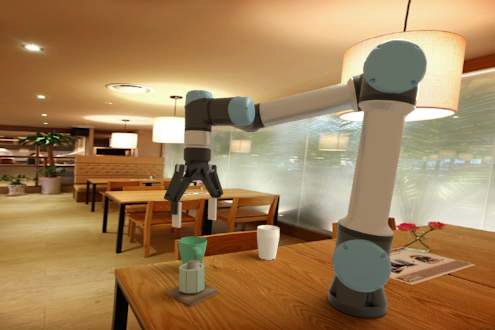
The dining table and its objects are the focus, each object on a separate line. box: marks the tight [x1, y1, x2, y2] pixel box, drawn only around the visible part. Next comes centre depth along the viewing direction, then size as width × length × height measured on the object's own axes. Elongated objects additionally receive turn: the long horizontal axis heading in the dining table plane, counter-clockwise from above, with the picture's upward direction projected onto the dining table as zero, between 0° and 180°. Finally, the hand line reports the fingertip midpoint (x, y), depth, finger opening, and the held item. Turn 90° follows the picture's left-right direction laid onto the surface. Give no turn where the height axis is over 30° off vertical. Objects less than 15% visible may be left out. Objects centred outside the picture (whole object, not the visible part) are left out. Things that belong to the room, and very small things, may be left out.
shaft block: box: [166, 260, 219, 307], centre depth 82 cm, size 10×10×9 cm
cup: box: [256, 224, 280, 261], centre depth 116 cm, size 9×9×12 cm
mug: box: [177, 236, 208, 265], centre depth 98 cm, size 15×10×10 cm
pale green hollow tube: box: [178, 262, 206, 293], centre depth 82 cm, size 7×7×6 cm
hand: (195, 223), depth 82 cm, fingers open, 13 cm apart
